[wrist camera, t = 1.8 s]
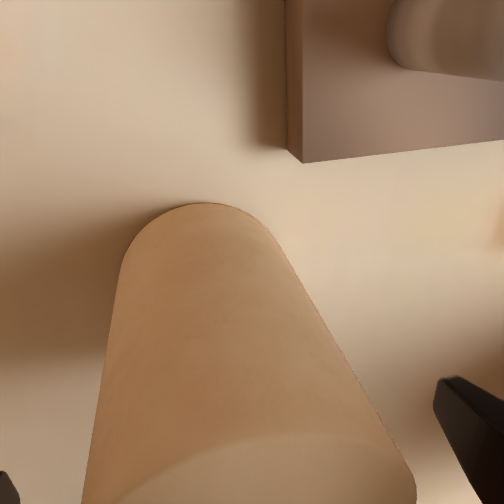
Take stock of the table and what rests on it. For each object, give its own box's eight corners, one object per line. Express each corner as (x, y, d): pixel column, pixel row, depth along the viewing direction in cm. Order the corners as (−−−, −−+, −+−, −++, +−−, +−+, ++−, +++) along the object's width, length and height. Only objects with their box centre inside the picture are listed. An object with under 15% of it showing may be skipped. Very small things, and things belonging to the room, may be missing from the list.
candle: (142, 178, 12) (99, 563, 3) (306, 224, 14) (561, 548, 5) (103, 327, 14) (14, 802, 5) (250, 350, 16) (363, 731, 7)
